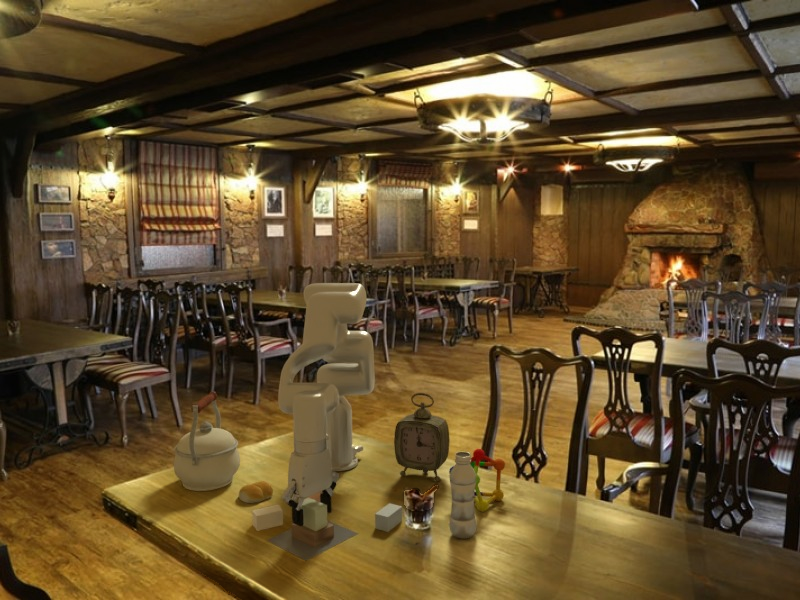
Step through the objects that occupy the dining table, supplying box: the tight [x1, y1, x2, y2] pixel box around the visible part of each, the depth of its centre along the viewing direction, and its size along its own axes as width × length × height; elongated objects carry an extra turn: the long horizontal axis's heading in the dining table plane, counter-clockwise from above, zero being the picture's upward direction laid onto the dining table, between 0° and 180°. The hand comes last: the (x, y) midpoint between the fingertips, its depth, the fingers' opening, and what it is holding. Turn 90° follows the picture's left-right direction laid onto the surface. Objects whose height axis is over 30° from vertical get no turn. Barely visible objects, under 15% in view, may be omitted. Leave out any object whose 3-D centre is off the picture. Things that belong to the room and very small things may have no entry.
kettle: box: [173, 391, 241, 492], centre depth 184 cm, size 25×18×25 cm
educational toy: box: [448, 448, 506, 512], centre depth 168 cm, size 16×13×15 cm
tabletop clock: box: [393, 392, 451, 483], centre depth 186 cm, size 14×9×25 cm, turn 67°
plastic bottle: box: [448, 451, 478, 540], centre depth 150 cm, size 6×7×20 cm
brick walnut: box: [291, 522, 334, 547], centre depth 148 cm, size 6×8×3 cm
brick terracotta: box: [305, 491, 322, 502], centre depth 162 cm, size 6×4×5 cm, turn 169°
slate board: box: [266, 519, 359, 562], centre depth 149 cm, size 16×14×1 cm
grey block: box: [374, 502, 403, 533], centre depth 154 cm, size 6×4×5 cm, turn 149°
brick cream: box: [251, 504, 284, 532], centre depth 155 cm, size 6×4×5 cm, turn 119°
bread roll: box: [238, 481, 274, 504], centre depth 174 cm, size 8×9×4 cm
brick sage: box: [301, 497, 328, 531], centre depth 148 cm, size 6×4×5 cm, turn 49°
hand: (312, 517), depth 148 cm, fingers open, 8 cm apart
